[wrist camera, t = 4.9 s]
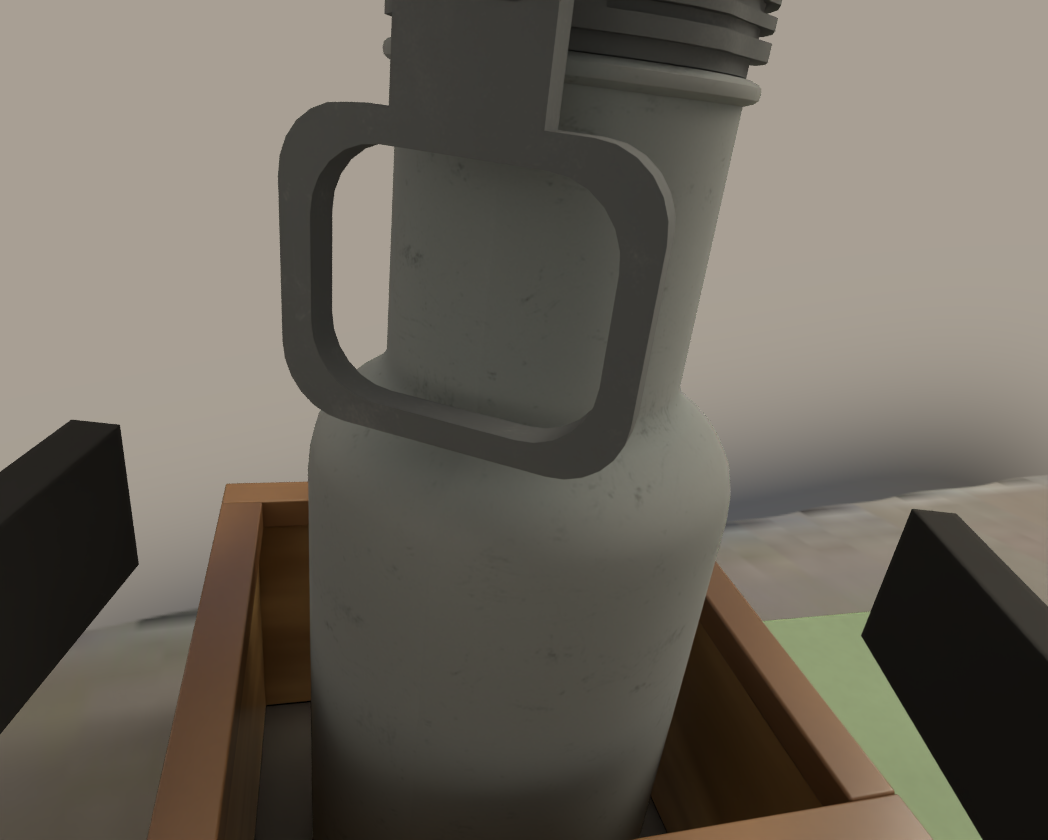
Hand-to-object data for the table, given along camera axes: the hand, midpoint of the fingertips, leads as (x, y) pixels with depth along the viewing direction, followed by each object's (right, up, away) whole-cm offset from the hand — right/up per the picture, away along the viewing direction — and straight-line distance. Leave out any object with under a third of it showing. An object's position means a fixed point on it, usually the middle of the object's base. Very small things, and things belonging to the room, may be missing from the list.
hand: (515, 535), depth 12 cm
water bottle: (-2, -12, +11) cm, 16 cm away
